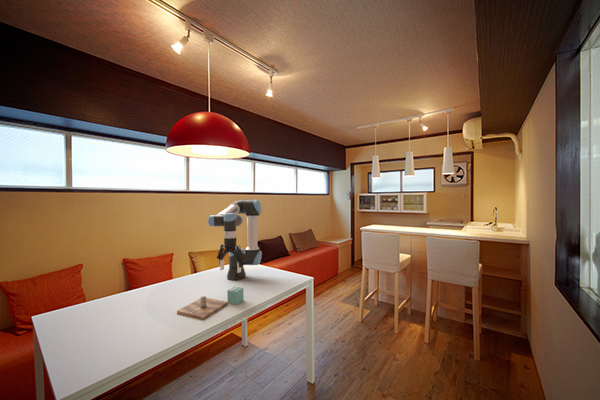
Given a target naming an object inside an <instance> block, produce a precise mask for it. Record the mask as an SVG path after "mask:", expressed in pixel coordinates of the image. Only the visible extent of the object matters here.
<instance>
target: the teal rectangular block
mask: <svg viewBox="0 0 600 400" xmlns="http://www.w3.org/2000/svg"><path fill="white" fill-rule="evenodd" d="M227 302H228V304H230V305H236V306H237V305H238V304H240V303H241V302H244V287H241V286H240V287H239V286H233V287H231V288H229V289H228V290H227Z"/></svg>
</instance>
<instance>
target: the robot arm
mask: <svg viewBox="0 0 600 400" xmlns="http://www.w3.org/2000/svg"><path fill="white" fill-rule="evenodd" d="M262 208H263V207H262V203H261V201H260V200H259V199H239V200H236V201H233V202H231V203H229V205H228V206H227V207H226V208H224V210H222V211H220V212H219V213H217V214H214V215H212V214H211V215H209V216H208V218H207V224H208V226H210V227H214V228H215V227H223V238H224V239H223V244H220V246H219V247H220V248H219V251H218V254H217V256H216V259H218V260H219V267H220V271H223V270H225V259H224V258H225V257H226V255H227V253H228V272H227V274H226V279H227V280H230V281H239V280H244V279H245V278H246V276H247V275H246V272H245V268H244V266H258V265H259V264H260V263H261V260H262V256H263V253H262V250H260V247H259V246H258V243H259V242H258V241H259V238H258V236H259V235H258V234H259V231H258V229H259V228H258V227H259V226H258V225H259V223H258V221H259V220H258V219H259V217H260V214H262V211H263V209H262ZM239 214H241V215H239ZM243 214H244V216H245V218H246V219H247V220H246V226H247V227H246V228H247V229H246V235H247V236H246V241H247V242H246V248H244V249H243V248H241V245H237V227H239V226H241V225H242V224H243V221H244V218H243V217H242V215H243Z"/></svg>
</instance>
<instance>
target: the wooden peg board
mask: <svg viewBox="0 0 600 400" xmlns="http://www.w3.org/2000/svg"><path fill="white" fill-rule="evenodd" d="M228 305H229V303H228V301H224V300H219V299H215V298H210V297H207V295H202V296H201V297H200V298H199V299H197V300H195V301H193V302H191V303H189V304H187V305H185V306H183V307H182V308H179V309H178V310H176V314H179V315H182V316H186V317H191V318H195V319H199V320H206V319H207V318H209V317H211V316H212V315H214V314H216V313H218V312H219V311H221V310H222V309H223V308H225V307H226V306H228Z"/></svg>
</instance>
